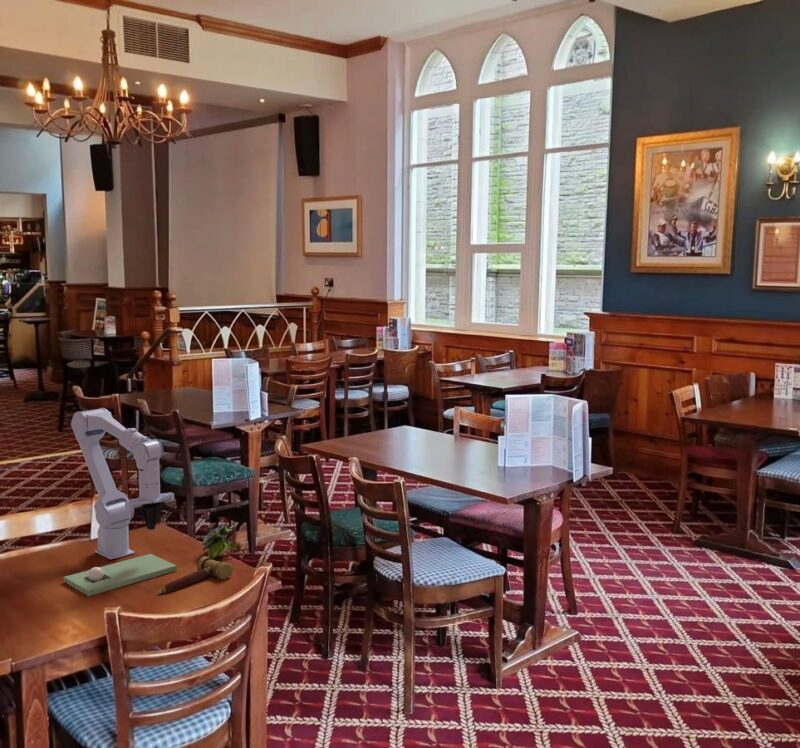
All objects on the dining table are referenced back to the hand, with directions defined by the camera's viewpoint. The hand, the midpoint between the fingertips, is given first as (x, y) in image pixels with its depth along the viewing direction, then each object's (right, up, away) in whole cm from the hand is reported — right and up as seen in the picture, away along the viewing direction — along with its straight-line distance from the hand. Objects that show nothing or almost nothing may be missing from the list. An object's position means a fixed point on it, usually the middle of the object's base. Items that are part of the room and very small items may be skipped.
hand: (150, 528), depth 236 cm
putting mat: (-5, -12, -9) cm, 15 cm away
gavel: (+15, -13, -13) cm, 24 cm away
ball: (-11, -10, -14) cm, 20 cm away
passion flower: (+18, -10, +10) cm, 23 cm away
